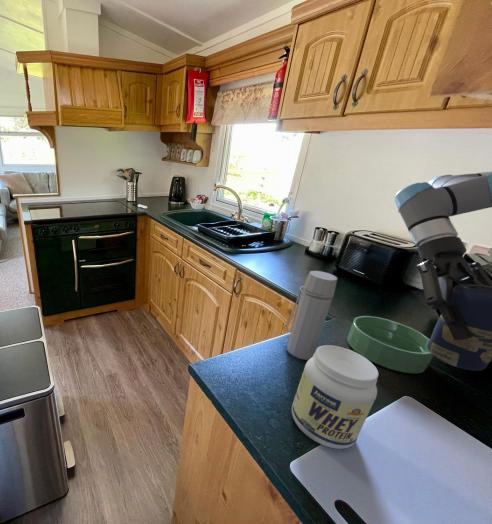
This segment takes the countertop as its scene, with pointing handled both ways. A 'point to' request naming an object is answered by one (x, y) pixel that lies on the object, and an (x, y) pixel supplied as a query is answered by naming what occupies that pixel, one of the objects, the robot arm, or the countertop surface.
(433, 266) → the robot arm
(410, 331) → the green pet bowl
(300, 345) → the water bottle
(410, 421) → the countertop surface
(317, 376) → the supplement tub
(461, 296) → the canister
